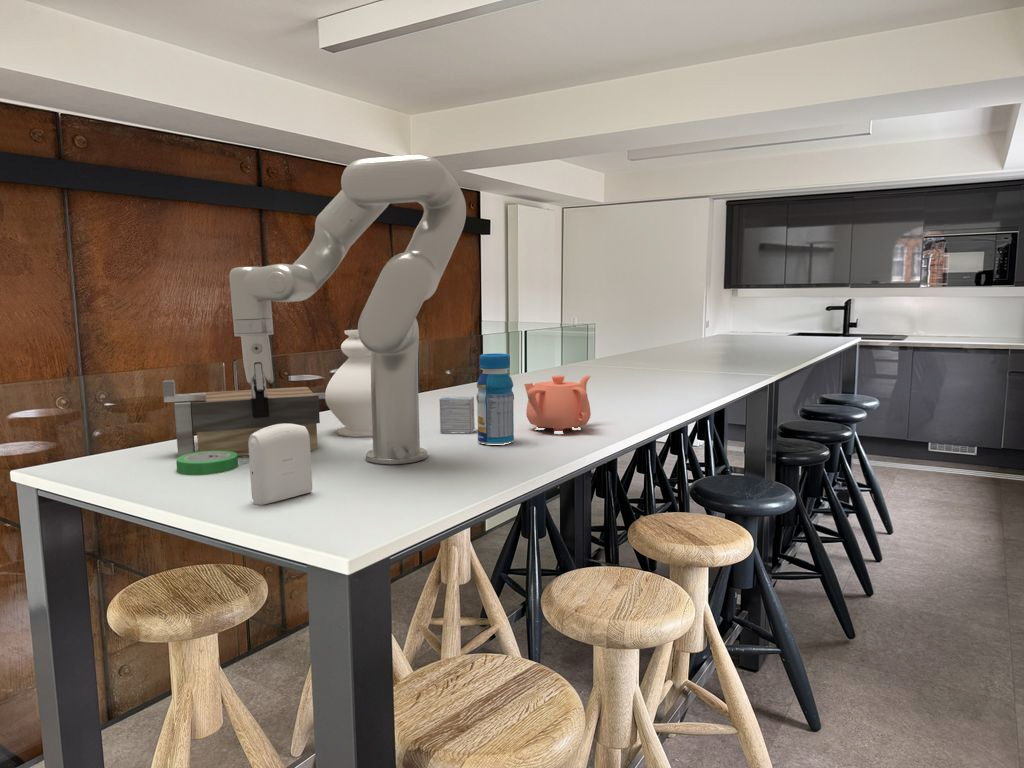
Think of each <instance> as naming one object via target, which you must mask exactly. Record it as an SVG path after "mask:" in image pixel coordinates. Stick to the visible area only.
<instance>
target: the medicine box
mask: <svg viewBox="0 0 1024 768" xmlns="http://www.w3.org/2000/svg"><path fill="white" fill-rule="evenodd" d="M439 425H440V426H439V427H440V429H439V431H440V432H472V431H473V430H474V429H475V428H476V426H475V425H476V424H475V397H474V396H473V395H445V396H440V398H439ZM474 431H475V430H474ZM474 431H473V432H474Z"/></svg>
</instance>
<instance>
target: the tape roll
mask: <svg viewBox="0 0 1024 768" xmlns="http://www.w3.org/2000/svg"><path fill="white" fill-rule="evenodd" d="M238 457H239V456H238V455H237V453H235V452H231V451H202V452H198V451H195V453H190V454H186V455H182V456H180V457H178V456H177V457H176V472H177V473H178V474H180V475H185V476H206V475H214V474H219V473H225V472H229V471H232V470H235V469H237V468H238V467H239V458H238Z"/></svg>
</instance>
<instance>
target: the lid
mask: <svg viewBox="0 0 1024 768" xmlns="http://www.w3.org/2000/svg"><path fill="white" fill-rule="evenodd" d="M266 391H267V397H268V404H269V417H264V418H253V415H252V403H251V398H252V391H251V389H246V390H245V389H243V390H242V389H241V390H240V389H239V390H225V391H207V392H203V393H206V400H197V401H192V415H193V430H194V433H197V432H208V431H221V430H235V429H248V428H262V427H268V426H272V425H276V424H297V425H303V424H316V423H317V424H320V423H321V421H320V419H321V418H320V395H316V394H315V393H314V392H313V391H312V390H311V389H310V388H309V387H308V386H296V387H281V388H279V387H278V388H266Z"/></svg>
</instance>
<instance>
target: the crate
mask: <svg viewBox="0 0 1024 768" xmlns="http://www.w3.org/2000/svg"><path fill="white" fill-rule="evenodd" d="M192 403H193V401H180V402H174V417H175V431H176V445H177V458H178V457H180V456H182V455H186V454H190V453H195V452H196V449H195V435H194V434H195V432H194V430H193V415H192ZM317 424H318V423H316V424H303V425H301V426H305V427H306V429H307V430H308V433H309V438H310V451H313V450H318V446H319V445H318V429H317V427H318V426H317ZM263 428H265V427H262V428H248V429H235V430H221V431H208V432H196V439H197V440H196V441H197V442H196V443H197V452H202V451H231V452H235V453H237V455H238V457H241V456H243V457H244V456H249V447H248V442H249V437H250V436H251V435H252V434H253V433H255V432H257V431H258V430H260V429H263Z"/></svg>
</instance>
